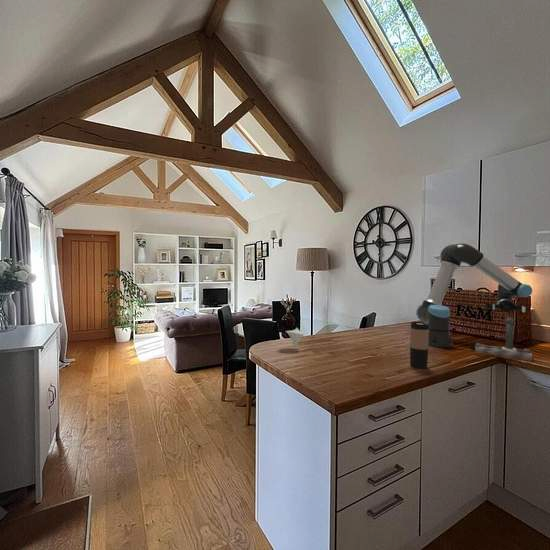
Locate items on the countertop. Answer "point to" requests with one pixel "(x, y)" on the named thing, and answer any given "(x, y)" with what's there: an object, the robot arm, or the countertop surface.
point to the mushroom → (295, 336)
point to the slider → (509, 335)
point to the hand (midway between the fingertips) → (508, 308)
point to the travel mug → (419, 344)
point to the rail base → (503, 352)
